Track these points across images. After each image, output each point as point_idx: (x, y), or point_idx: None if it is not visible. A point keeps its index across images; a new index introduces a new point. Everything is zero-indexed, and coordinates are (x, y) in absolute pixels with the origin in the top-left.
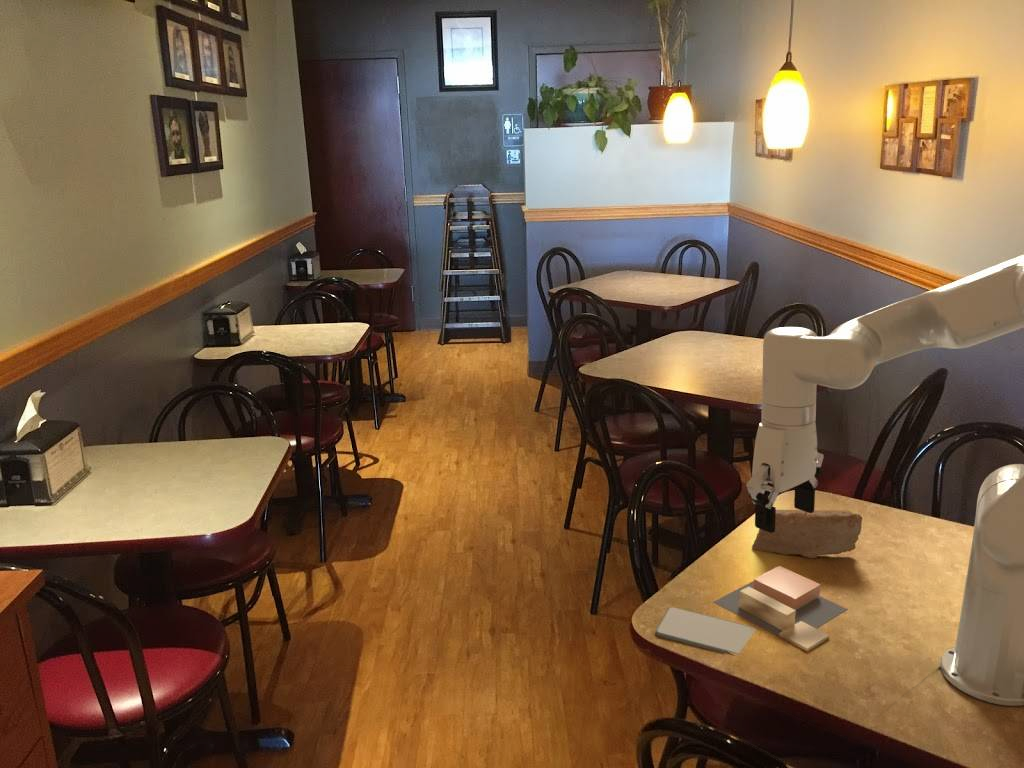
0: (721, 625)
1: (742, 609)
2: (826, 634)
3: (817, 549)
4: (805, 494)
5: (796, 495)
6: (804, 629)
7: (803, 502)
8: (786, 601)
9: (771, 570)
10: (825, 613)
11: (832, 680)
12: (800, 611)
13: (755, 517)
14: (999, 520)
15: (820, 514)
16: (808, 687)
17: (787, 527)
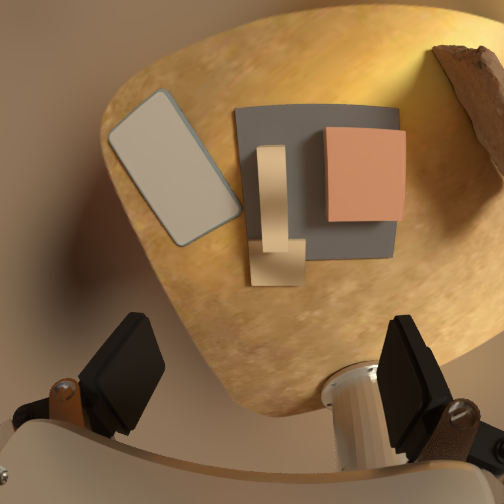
0: (194, 169)
1: None
2: (303, 282)
3: (491, 147)
4: (394, 413)
5: (404, 367)
6: (288, 257)
7: (388, 377)
8: (326, 200)
9: (380, 130)
10: (359, 245)
11: (235, 323)
12: None
13: (114, 333)
14: None
15: None
16: (202, 314)
17: (487, 103)
